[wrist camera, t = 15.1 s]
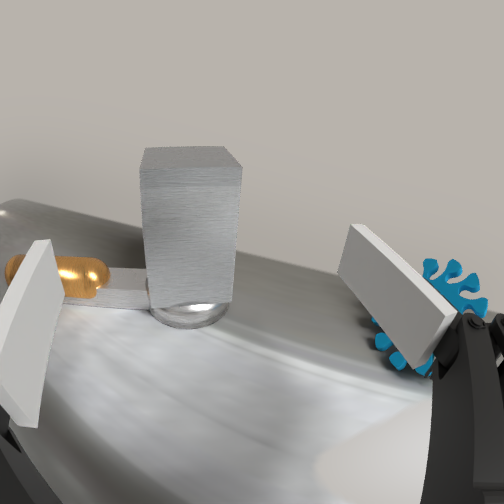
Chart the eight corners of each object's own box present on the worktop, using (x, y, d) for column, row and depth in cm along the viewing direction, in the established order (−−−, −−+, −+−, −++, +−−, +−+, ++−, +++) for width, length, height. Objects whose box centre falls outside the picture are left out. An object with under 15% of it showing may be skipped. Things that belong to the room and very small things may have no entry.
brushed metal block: (151, 308, 21) (139, 169, 16) (151, 263, 26) (145, 148, 21) (231, 302, 23) (242, 167, 18) (217, 259, 28) (223, 146, 23)
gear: (353, 294, 26) (447, 233, 22) (375, 321, 29) (456, 269, 25) (396, 408, 17) (518, 332, 14) (412, 418, 20) (510, 358, 17)
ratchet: (-2, 310, 20) (-21, 264, 18) (28, 268, 26) (16, 226, 24) (231, 329, 23) (235, 277, 21) (227, 276, 29) (230, 229, 26)
